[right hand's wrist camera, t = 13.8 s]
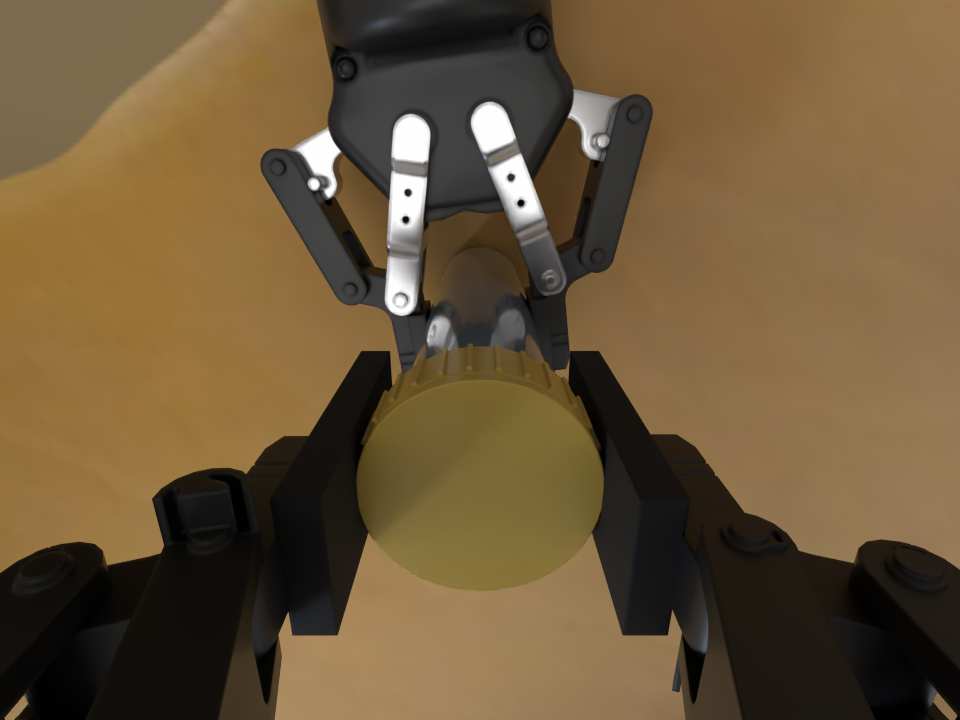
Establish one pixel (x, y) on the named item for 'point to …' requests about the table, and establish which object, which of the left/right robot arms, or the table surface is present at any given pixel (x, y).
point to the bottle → (480, 307)
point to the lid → (480, 470)
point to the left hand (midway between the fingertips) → (489, 383)
